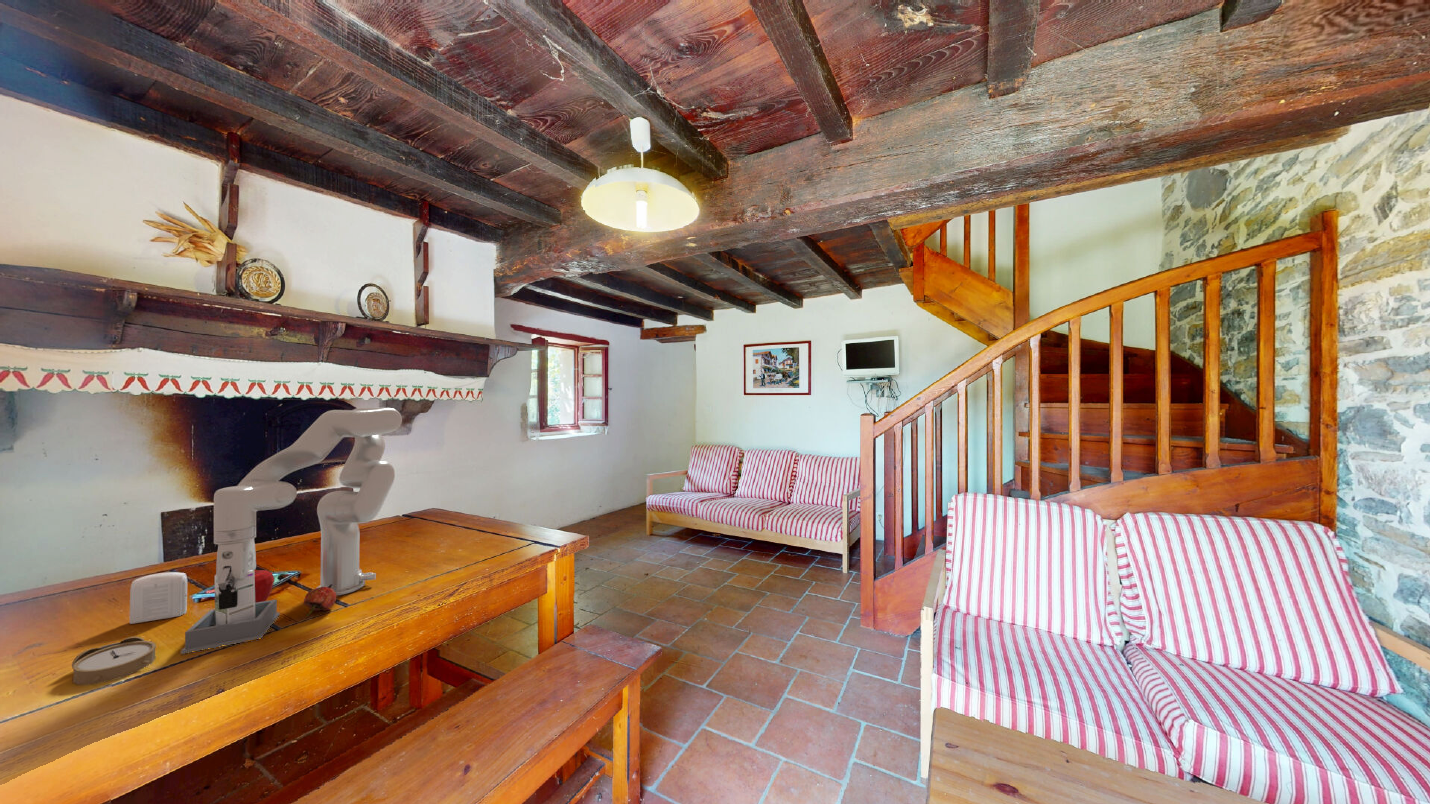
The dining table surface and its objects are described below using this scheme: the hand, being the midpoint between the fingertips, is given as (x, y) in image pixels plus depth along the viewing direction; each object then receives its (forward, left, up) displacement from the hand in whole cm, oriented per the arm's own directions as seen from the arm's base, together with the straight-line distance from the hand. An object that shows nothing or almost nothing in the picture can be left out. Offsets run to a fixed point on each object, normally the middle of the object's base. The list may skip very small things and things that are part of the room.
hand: (235, 600), depth 116 cm
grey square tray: (0, 0, -9) cm, 9 cm away
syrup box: (0, 0, -7) cm, 7 cm away
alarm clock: (+18, +7, -9) cm, 21 cm away
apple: (+2, -18, -9) cm, 20 cm away
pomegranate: (-16, -5, -9) cm, 19 cm away
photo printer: (+21, -21, -9) cm, 31 cm away
